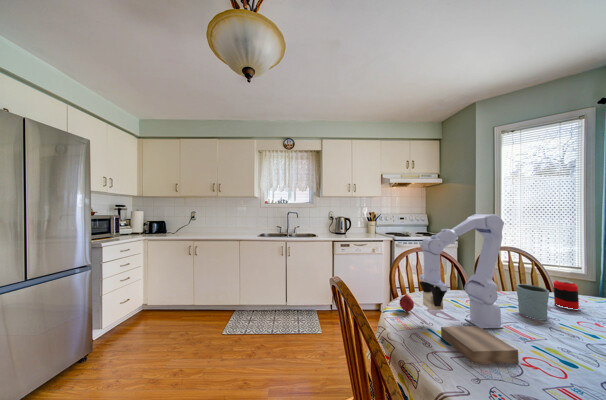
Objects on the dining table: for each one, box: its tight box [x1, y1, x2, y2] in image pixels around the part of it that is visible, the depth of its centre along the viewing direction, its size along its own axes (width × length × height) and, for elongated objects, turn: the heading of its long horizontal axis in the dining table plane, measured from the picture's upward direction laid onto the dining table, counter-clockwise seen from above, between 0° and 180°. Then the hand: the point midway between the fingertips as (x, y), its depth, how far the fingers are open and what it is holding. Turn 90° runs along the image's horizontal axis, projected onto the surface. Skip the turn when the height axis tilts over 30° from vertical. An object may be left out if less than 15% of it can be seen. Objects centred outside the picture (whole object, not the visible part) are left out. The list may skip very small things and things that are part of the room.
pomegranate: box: [399, 293, 415, 313], centre depth 99 cm, size 6×6×8 cm
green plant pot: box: [515, 283, 550, 320], centre depth 97 cm, size 10×10×12 cm
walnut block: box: [440, 325, 520, 365], centre depth 73 cm, size 14×14×4 cm
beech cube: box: [422, 291, 444, 311], centre depth 89 cm, size 5×5×5 cm
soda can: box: [552, 279, 580, 309], centre depth 106 cm, size 8×8×12 cm
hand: (432, 303), depth 89 cm, fingers closed on beech cube, 5 cm apart
